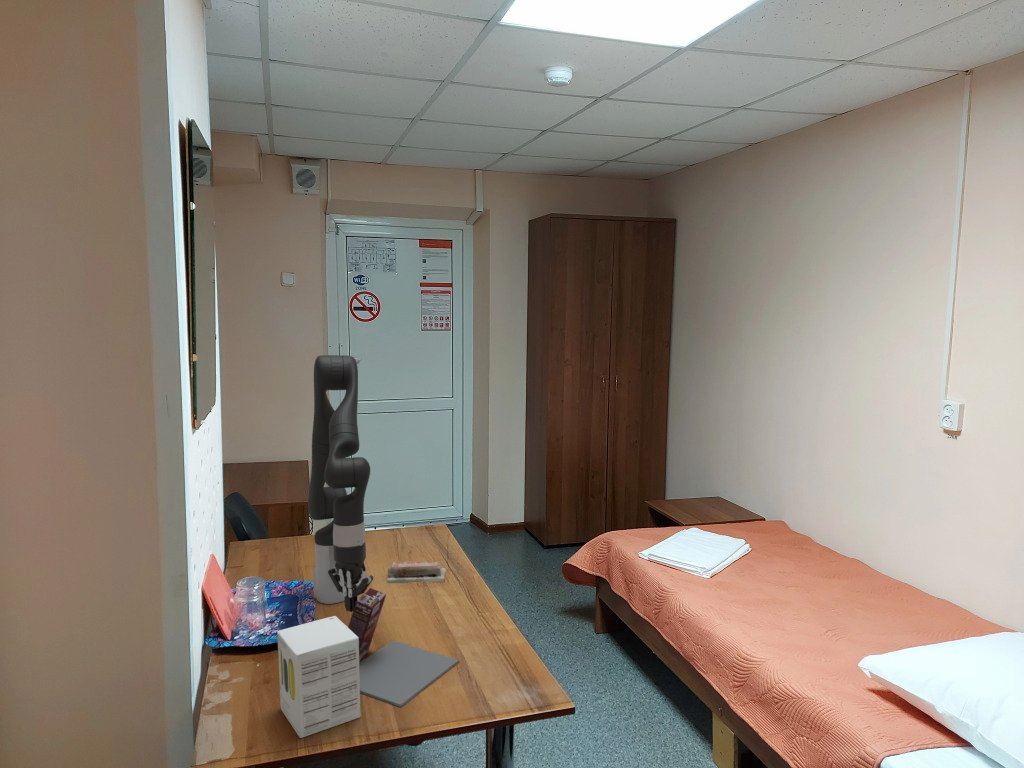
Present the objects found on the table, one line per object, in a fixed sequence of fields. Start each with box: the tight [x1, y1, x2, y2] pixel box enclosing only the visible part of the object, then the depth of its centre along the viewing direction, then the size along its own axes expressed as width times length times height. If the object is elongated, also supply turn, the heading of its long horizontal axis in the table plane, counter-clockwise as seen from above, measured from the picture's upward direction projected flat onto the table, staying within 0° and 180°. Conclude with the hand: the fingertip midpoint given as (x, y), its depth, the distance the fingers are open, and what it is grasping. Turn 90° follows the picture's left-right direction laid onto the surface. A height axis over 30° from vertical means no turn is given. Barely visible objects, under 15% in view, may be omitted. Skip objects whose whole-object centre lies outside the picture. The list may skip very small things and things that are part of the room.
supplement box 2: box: [347, 587, 387, 662], centre depth 169 cm, size 9×5×16 cm, turn 168°
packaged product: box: [386, 561, 447, 584], centre depth 222 cm, size 18×5×10 cm
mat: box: [359, 640, 460, 708], centre depth 164 cm, size 20×22×1 cm
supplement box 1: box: [276, 615, 362, 739], centre depth 146 cm, size 13×13×18 cm
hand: (351, 610), depth 169 cm, fingers closed
